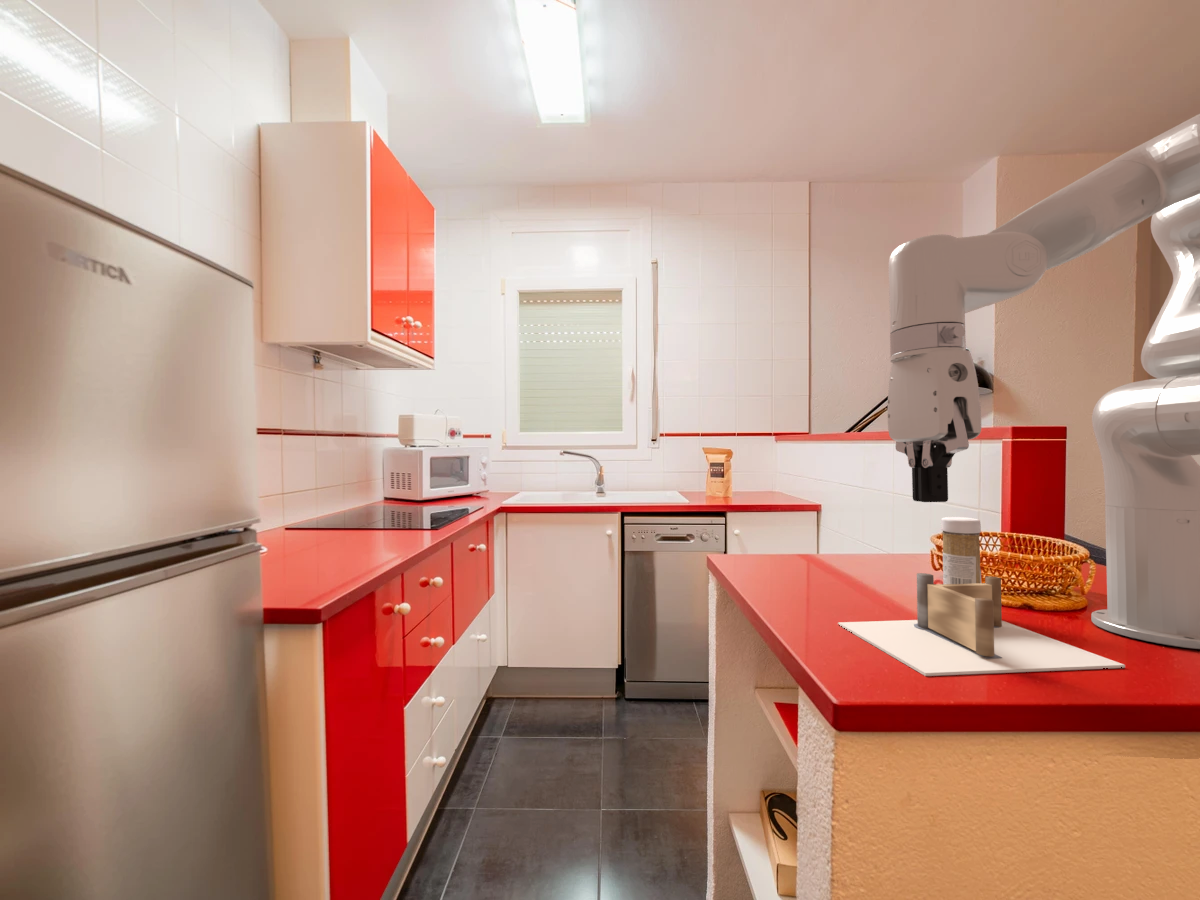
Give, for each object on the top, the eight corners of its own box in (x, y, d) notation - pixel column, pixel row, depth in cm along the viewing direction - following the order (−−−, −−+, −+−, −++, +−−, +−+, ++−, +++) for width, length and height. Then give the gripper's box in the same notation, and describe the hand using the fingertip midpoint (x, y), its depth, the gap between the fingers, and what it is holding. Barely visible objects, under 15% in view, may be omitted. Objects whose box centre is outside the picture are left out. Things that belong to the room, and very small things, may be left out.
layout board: (993, 619, 69) (993, 616, 69) (1124, 667, 53) (1124, 663, 53) (837, 624, 67) (837, 621, 67) (925, 676, 51) (925, 672, 51)
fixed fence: (993, 625, 67) (992, 571, 67) (1005, 629, 65) (1004, 574, 65) (914, 627, 66) (913, 573, 66) (924, 632, 64) (923, 576, 64)
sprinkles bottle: (988, 614, 71) (986, 518, 71) (974, 620, 68) (972, 520, 69) (951, 607, 75) (949, 515, 75) (936, 612, 72) (934, 517, 73)
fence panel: (925, 627, 64) (924, 580, 64) (938, 627, 64) (937, 580, 64) (983, 656, 54) (982, 601, 54) (998, 656, 54) (997, 601, 54)
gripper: (1011, 330, 53) (1015, 506, 53) (914, 358, 68) (918, 496, 68) (941, 330, 53) (946, 508, 52) (860, 358, 68) (863, 497, 67)
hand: (930, 501), depth 60 cm, fingers closed
